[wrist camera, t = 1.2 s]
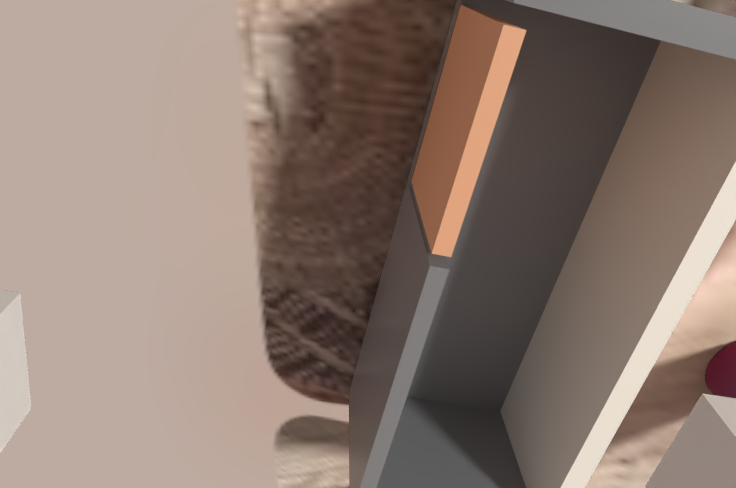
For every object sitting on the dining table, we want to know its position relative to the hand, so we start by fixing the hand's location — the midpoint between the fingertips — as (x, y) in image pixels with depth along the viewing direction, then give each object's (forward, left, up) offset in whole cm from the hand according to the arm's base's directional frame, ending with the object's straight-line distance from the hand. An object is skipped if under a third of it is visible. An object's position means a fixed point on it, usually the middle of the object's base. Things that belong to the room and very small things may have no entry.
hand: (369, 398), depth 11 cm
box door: (-2, +4, -19) cm, 20 cm away
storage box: (+4, +9, -21) cm, 23 cm away
